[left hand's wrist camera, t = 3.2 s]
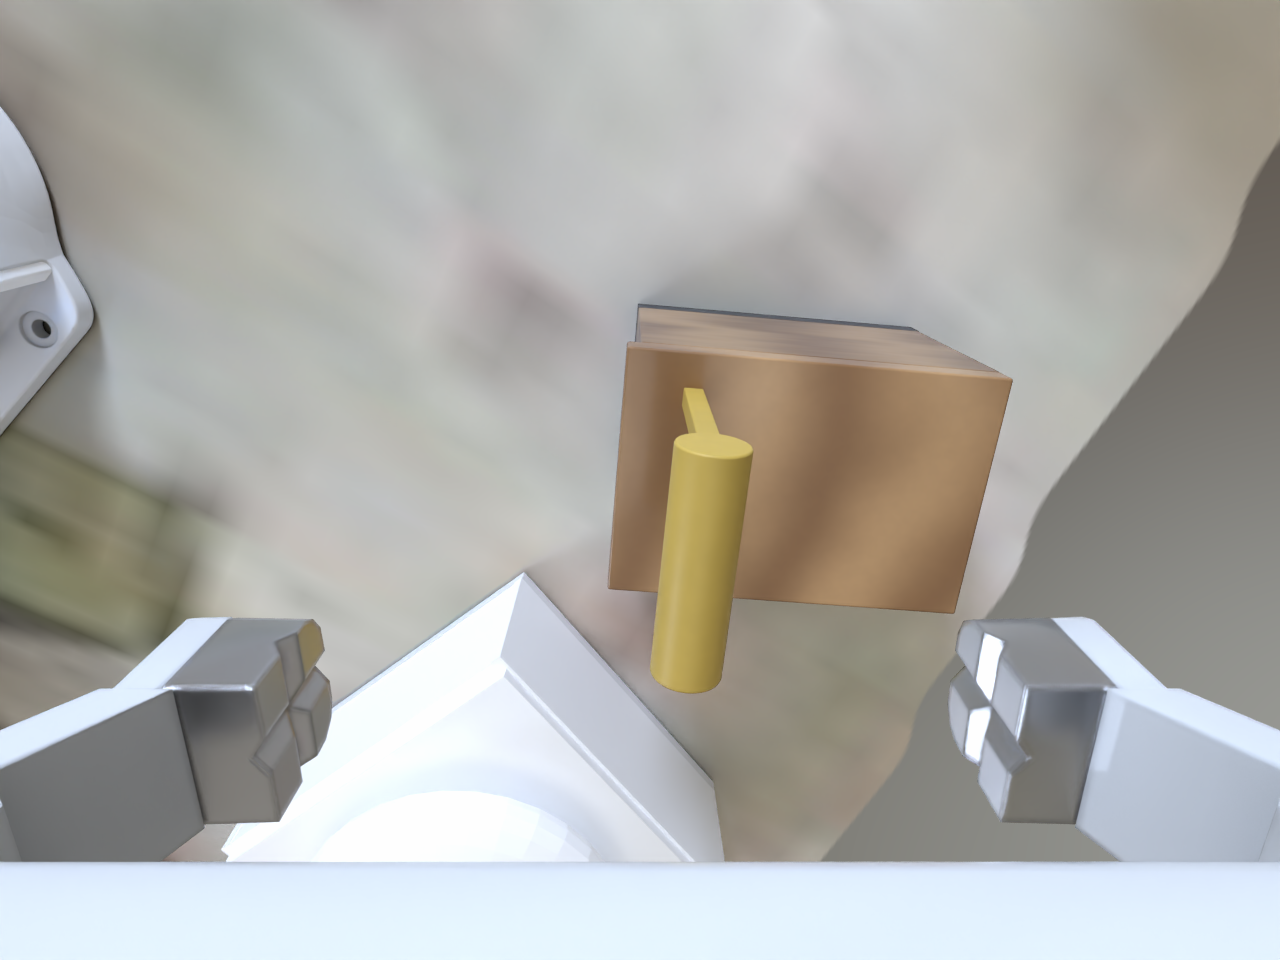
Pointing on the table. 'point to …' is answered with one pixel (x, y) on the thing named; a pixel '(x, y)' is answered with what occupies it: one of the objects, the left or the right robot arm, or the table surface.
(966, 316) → the table surface
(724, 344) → the chest
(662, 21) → the table surface
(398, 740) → the butter dish
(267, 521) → the table surface
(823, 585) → the lid
